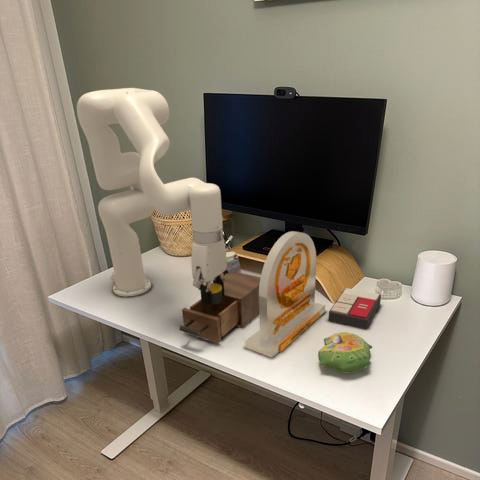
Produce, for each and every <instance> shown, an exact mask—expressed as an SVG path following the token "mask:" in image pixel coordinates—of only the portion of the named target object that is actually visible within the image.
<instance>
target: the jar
mask: <svg viewBox="0 0 480 480" xmlns="http://www.w3.org/2000/svg"><path fill="white" fill-rule="evenodd" d="M205 286H206V285H205ZM210 291H211V292H212V304H211V305H215V304H219V303H221V302H222V300H223V298H222V286H221V285H220V284H217V283H210Z"/></svg>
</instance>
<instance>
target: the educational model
mask: <svg viewBox="0 0 480 480" xmlns="http://www.w3.org/2000/svg"><path fill="white" fill-rule="evenodd" d="M323 342H324V343H323V344H324V346H323V347H322V348H320V349H319V350H318V354H317V357H318V361H319V365H320V366H322V367H325V368H326V369H330V370H332V371H336V372H339V373H345V374H350V373H357V372H360V371H362V370H364V369H365V368H367V367H368V366H370V365H371V364H372V361H371V356H372V354H371V349H372V348H373V346H372V345H371V344H369V343H368V342H367V341H366V340H365V339H364V338H362V337H361V336H359V335H357V334H354V333H351V332H347V331H344V332H336V333H334V334H331V335H330V336H328V337H325V338H323Z"/></svg>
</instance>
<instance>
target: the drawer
mask: <svg viewBox="0 0 480 480" xmlns="http://www.w3.org/2000/svg"><path fill="white" fill-rule="evenodd" d="M222 298H223V300H222V302H221V303H219V304H215V305H208V304H205V303H202V302H201V298H200V299H199V300H197V301H196V302H195V303H193V304H191V305H190V306H189V308H186V307H183V308H182V309H181V313H182V321H183V322H182V323H183V325H182V324H181V325H180V326H179V328H178V329H179V331H180V332H182V333H184V334H188V335H191V336H194V337H198V338H200V339H203V340H207V341H210V342H212V343H216V344H220V343H221V342H222V338H223V337H224V336H225V335H227V333H229V332H230V331H231V330H232V329H233V328H234V327H236V326H235V325H237V324H238V323H239V322H240V313H239V301H237V300H233V299H229V298H225V297H222Z"/></svg>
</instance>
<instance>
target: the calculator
mask: <svg viewBox="0 0 480 480" xmlns="http://www.w3.org/2000/svg"><path fill="white" fill-rule="evenodd" d="M381 299H382V295H381V294H380V293H376V292H372V291H371V292H370V291H365V290H359V289H355V288H347V287H345V288H344V289H343V291H342V292H341V293H340V295H339V296H338V298H337V299H336V300H335V302H334V304H333V305H332V307H330V309H329V311H328V321H329V322H333V323H337V324H340V325H341V324H342V325H347V326H351V327H355V328H356V327H357V328H361V329H365V330H366V329H368V327H369V326H370V323H371V322H372V319H373V318H374V316H375V314H376V312H377V311H378V309H379V308H380V306H381Z"/></svg>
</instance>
